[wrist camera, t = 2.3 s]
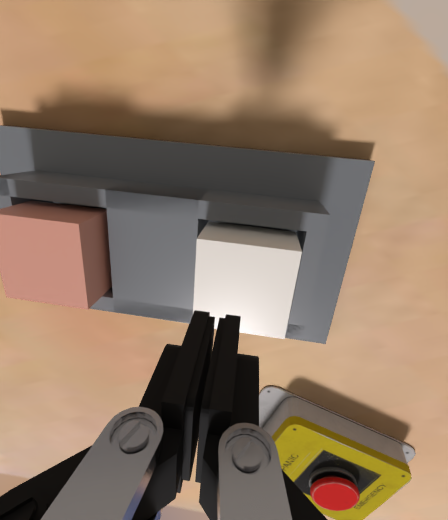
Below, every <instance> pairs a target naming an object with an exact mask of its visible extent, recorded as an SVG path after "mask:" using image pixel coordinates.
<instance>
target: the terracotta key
mask: <svg viewBox="0 0 448 520" xmlns="http://www.w3.org/2000/svg"><path fill="white" fill-rule="evenodd" d="M0 272H1V277H2V281H3V285H4V289H5V294H6V297H8V298H15V299H22V300H28V301H35V302H41V303H48V304H55V305H61V306H68V307H75V308H81V309H89V308H90V307H91V306H92V305H93V304H94V303H95V302H97V301H98V300H99V299H100V298H101V297H102V296H103V295H104V294H105V293H106V292H107V291H108V290H109V289H110V288H111V287H112V276H111V263H110V249H109V235H108V221H107V209H100V208H91V207H83V206H74V205H66V204H58V203H49V202H41V201H28V202H24V203H20V204H17V205H13V206H9V207H5V208H2V209H0Z"/></svg>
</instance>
